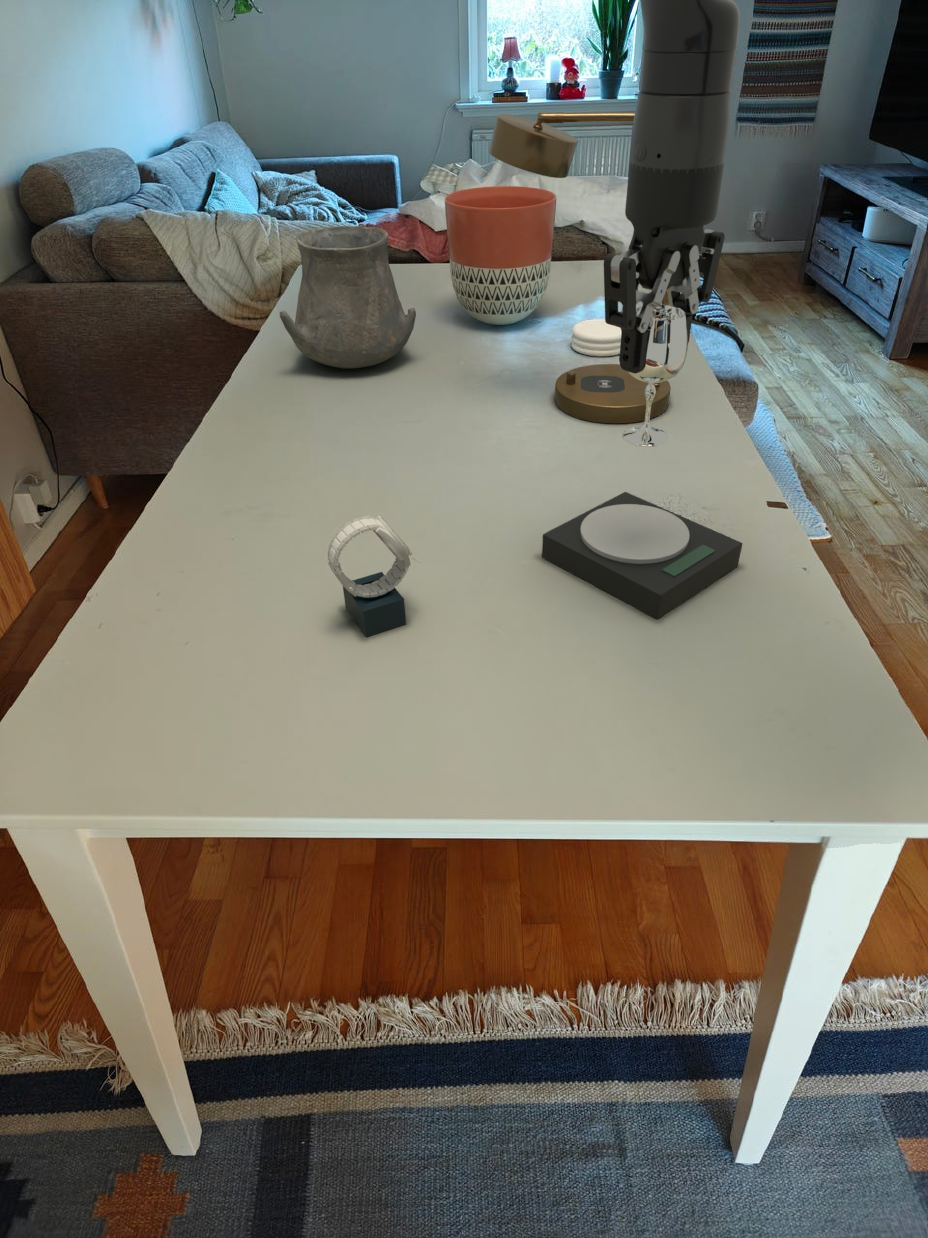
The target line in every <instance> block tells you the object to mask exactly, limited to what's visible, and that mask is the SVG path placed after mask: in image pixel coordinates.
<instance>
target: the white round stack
mask: <svg viewBox="0 0 928 1238" xmlns="http://www.w3.org/2000/svg"><path fill="white" fill-rule="evenodd" d="M571 333H572V334H571V342H570V344H571V348H572V349H573V350H574V351H576V352H577V353H579V354H582V355H585V356H589V357H612V356H618V355H620V344H621V328H620V327H616V326H613V325H609V324H607V323H606V322H605V318H595V319H594V318H593V319H587V320H582V321H579V322H577V323H575V324H574V325H573V326H572V329H571Z"/></svg>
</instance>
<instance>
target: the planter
mask: <svg viewBox="0 0 928 1238" xmlns="http://www.w3.org/2000/svg"><path fill="white" fill-rule="evenodd" d="M556 209H557V195H556V193H554V192H553V191H550V190H547V189H544V188H538V187H532V186H531V187H530V186H518V185H496V186H493V185H491V186H481V187H480V186H479V187H471V188H466V189H460V190H457V191H453V192H450V193H449V194H447V195H446V196H445V197H444V212H445V213H444V214H445V223H446V234H447V247H448V257H449V259H448V260H449V270H450V277H451V282H452V286H453V290H454V294H455V296H456V298H457V300H458V302H459V304H460V305H461V306H462V308H463V309H464V310H465V311H466V313H468V314H469V315H470V316H471V317H473V318H474V319H475V320H477V321H479V322H481V323H484V324H487V325H492V326H494V325H495V326H505V325H506V326H507V325H512V324H516V323H518V322H521V321H522V320H524V319H526V318H527V317H528V316H530V315H531V314H532V313H533V312H534V311H535V310H536V308H538V307H539V305H540V304H541V302H542V301H543V299H544V296H545V294H546V291H547V288H548V285H549V281H550V273H551V268H552V267H551V266H552V255H553V244H554V233H555V231H554V230H555V222H556V212H557V211H556Z"/></svg>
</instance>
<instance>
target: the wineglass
mask: <svg viewBox="0 0 928 1238" xmlns="http://www.w3.org/2000/svg"><path fill="white" fill-rule="evenodd" d="M641 308H642V305H640V306H636V316H638V317H639V314H640V311H641ZM646 331H648V336H647V346H646V355H645V364H644V370H643V371H641V372H639V373H636V374H635V373H632V372H629V371H628V373H629V374H630V375H631V376H633V377H634V378H636V379H638V380H640V381H642V382H646V383H648V385H647V386H646V388H645V398H646V413H645V420H644V421H643V424H642V425H641V426H634V427H630V428H627V429H626V430H624V431H623V432H622V436H621V437H622V439H623V441H625V442H626V443H628V444H630V445H632V446H636V447H643V448H653V447H654V448H655V447H658V446H662V445H665V444H666V443H667V442H668V441H669V435H668V433H667V432H665V431H664V430H662V429H660V428H656V427H652V426H651V424H650V421H651V419H650V411H651V405H652V402H653V399H654V397H655V394H656V389H655V386H654V383H660V382H664V381H669V380H671V379H673V378H675V377H676V376H677V375H678V374H679V373H680V372H681V370H682V369H683V367H684V364H685V361H686V358H687V354H688V349H687V347H689V343H688V335H687V321H686V314H685V311H684V310H682V309H680V308H678V307H674V306H669V305H662V304H661V305H660V306H658V307H656V308H655V309H654V311H653V314H652V317H651V320H650V322H649V325H648V328H647V330H646Z"/></svg>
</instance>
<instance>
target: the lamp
mask: <svg viewBox="0 0 928 1238" xmlns="http://www.w3.org/2000/svg"><path fill="white" fill-rule="evenodd" d="M634 115H635V112H629V111H628V112H627V111H626V112H625V111H624V112H623V111H621V112H620V111H619V112H616V111H615V112H613V111H612V112H610V111H609V112H604V111H603V112H563V111H559V112H558V111H557V112H553V111H552V112H548V111H547V112H537V120H534V119H529V118H526V117H522V116H518V115H515V114H507V113H499V114H497V116H496V119H495V124H494V127H493V130H492V131H493V132H492V135H491V138H490V139H491V140H490V143H489V147H488V153H489V155H491V156H492V157H493V158H495V159H497V160H498V161H500V162H502V163H505V164H507V165H509V166H511V167H513V168H517V169H519V170H523V171H526V172H528V173H532V174H536V175H539V176H543V177H548V178H549V177H550V178H555V179H565V178H567V177H568V175H569V171H570V168H571V165H572V161H573V159H574V156H575V152H576V150H577V149H576V148H577V146H578V143H579V142H578V141H579V140H578V139H577V138H576V137H574V136H573V135H571V134H569V133H568V132H565V131H563V130H561V129H559V128H557V127H553V126H552V125H548V124H564V123H633V120H634ZM661 305H669V300H668V294H667V291H666V292H665V295H664V298H663V300H662V303H661ZM647 385H648V383H646V382H642V381H640V380H638V379H636V378H634V377H633V376H631V375H630V374H629V373H628V371H625V370H623V369H622V368H621V366H620V363H600V364H590V365H584V366H583V365H582V366H579V367H575V368H573V369H569V370H567V371H565V372H564V373H562V374H560V375H559V376H558V377H557V379H556V380H555V385H554V402H555V405H556V406H557V407H558V408H559V409H560V410H561V411H562V412H564V413H565V414H566V415H568V416H571V417H573V418H577V419H580V420H582V421H587V422H593V423H597V424H598V423H599V424H613V425H614V424H615V425H616V424H617V425H619V424H621V425H622V424H634V423H639V422H644V420H645V413H646V398H645V388H646V386H647ZM654 386H655V389H656V394H655V397H654V399H653V402H652V405H651V411H650V420H651V419H654V418H656V417H658V416H660V415H662V414H663V413H664V412H665V411H666V410H667V409H668V407H669V403H670V398H671V383H670V382H669V380H667V381H664V382H660V383H654Z"/></svg>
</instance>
